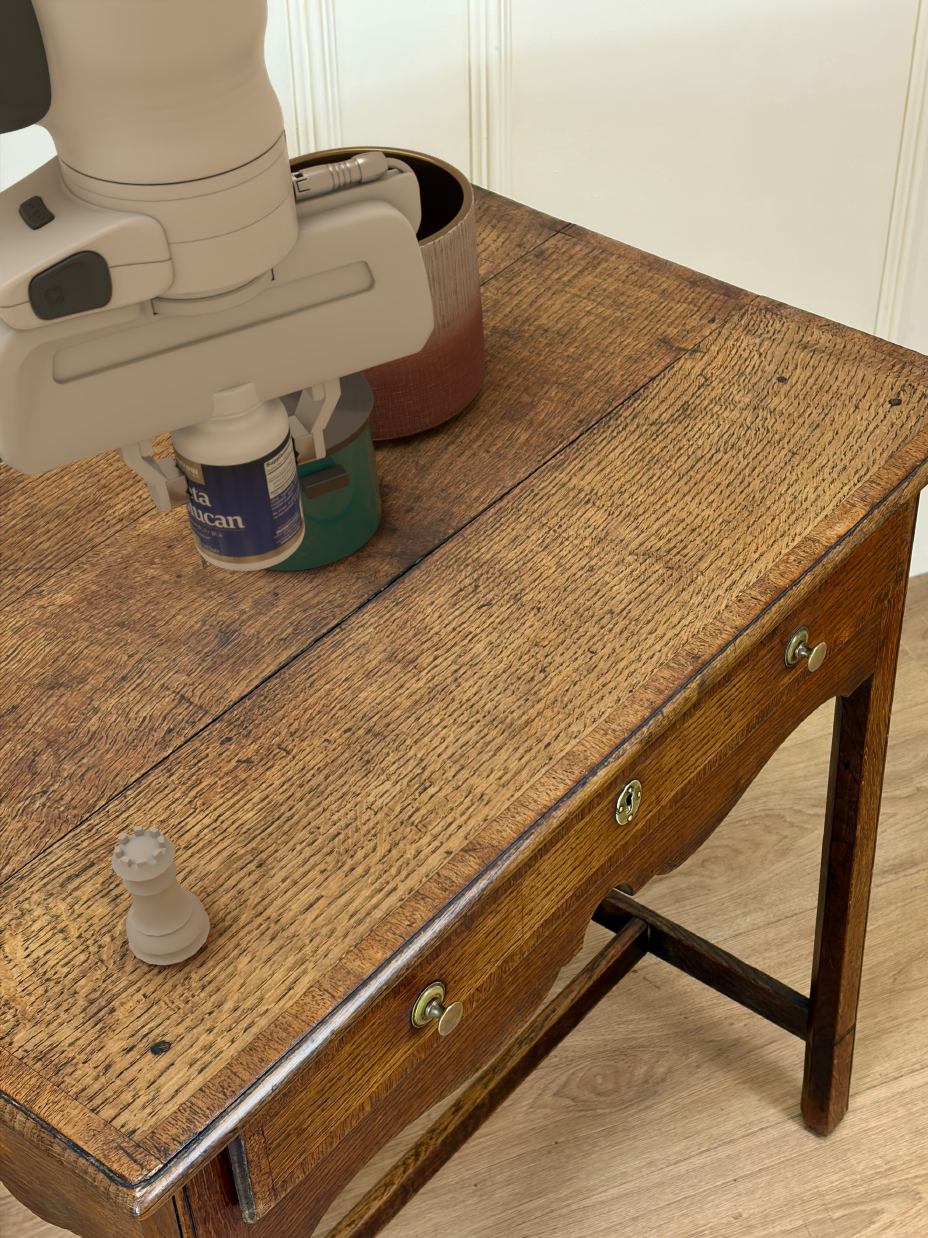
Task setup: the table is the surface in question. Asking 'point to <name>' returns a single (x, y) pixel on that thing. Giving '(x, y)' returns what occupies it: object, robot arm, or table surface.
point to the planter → (455, 349)
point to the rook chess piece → (158, 900)
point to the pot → (338, 481)
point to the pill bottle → (242, 482)
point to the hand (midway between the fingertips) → (238, 478)
